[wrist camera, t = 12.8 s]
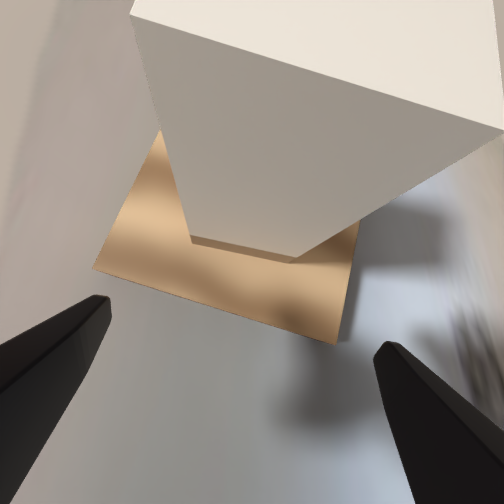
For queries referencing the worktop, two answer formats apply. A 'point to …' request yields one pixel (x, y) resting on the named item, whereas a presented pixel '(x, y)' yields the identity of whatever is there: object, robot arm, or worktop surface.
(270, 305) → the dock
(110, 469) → the worktop surface
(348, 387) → the worktop surface
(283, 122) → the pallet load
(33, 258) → the worktop surface
